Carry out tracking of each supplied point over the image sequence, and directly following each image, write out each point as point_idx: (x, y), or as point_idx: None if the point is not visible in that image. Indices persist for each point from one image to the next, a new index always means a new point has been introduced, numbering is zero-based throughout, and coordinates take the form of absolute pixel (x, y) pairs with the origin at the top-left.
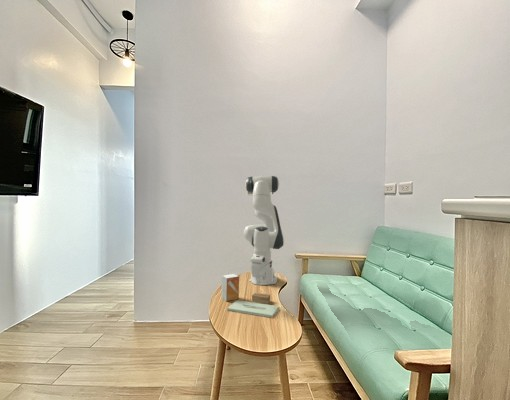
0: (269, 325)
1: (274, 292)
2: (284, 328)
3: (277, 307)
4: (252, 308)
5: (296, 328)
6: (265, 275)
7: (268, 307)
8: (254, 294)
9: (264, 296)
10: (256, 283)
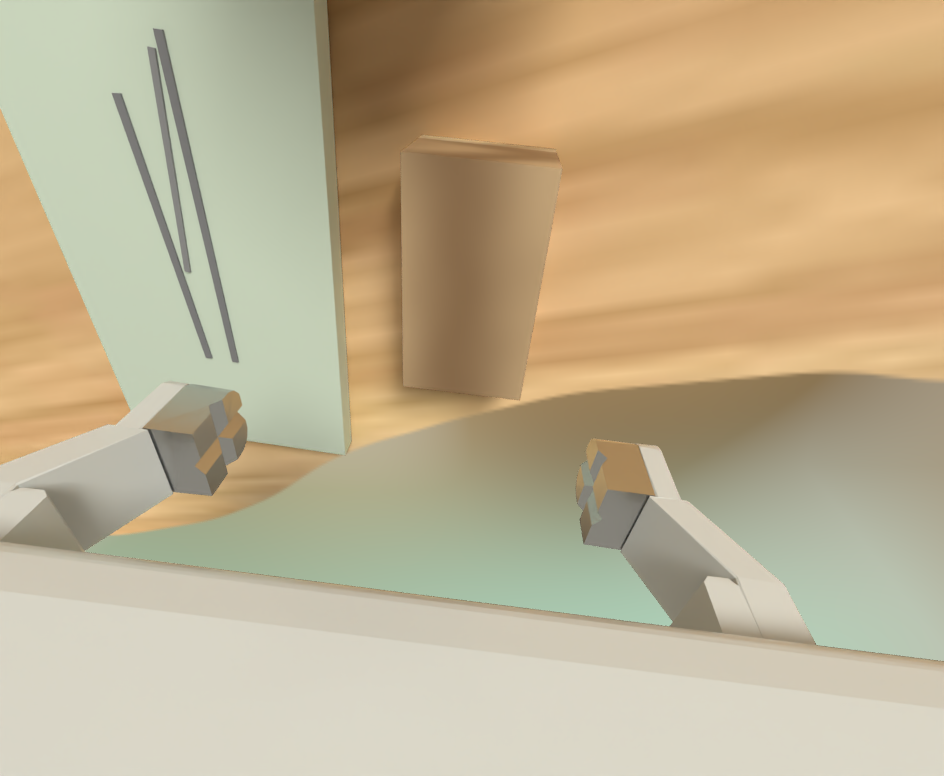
0: (21, 405)
1: (838, 364)
2: None
3: (313, 445)
4: (144, 223)
5: (116, 530)
6: (640, 569)
7: (272, 379)
8: (459, 184)
9: (422, 345)
10: (160, 384)
